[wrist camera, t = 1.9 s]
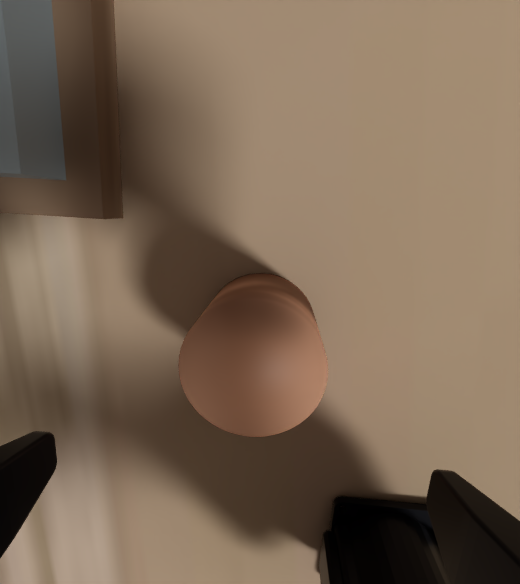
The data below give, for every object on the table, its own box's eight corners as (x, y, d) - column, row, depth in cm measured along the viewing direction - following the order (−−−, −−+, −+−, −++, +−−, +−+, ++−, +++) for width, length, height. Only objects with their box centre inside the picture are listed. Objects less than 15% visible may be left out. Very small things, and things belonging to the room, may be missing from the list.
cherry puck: (320, 277, 16) (336, 305, 11) (309, 378, 17) (320, 443, 13) (208, 269, 16) (178, 293, 12) (207, 370, 18) (178, 430, 13)
